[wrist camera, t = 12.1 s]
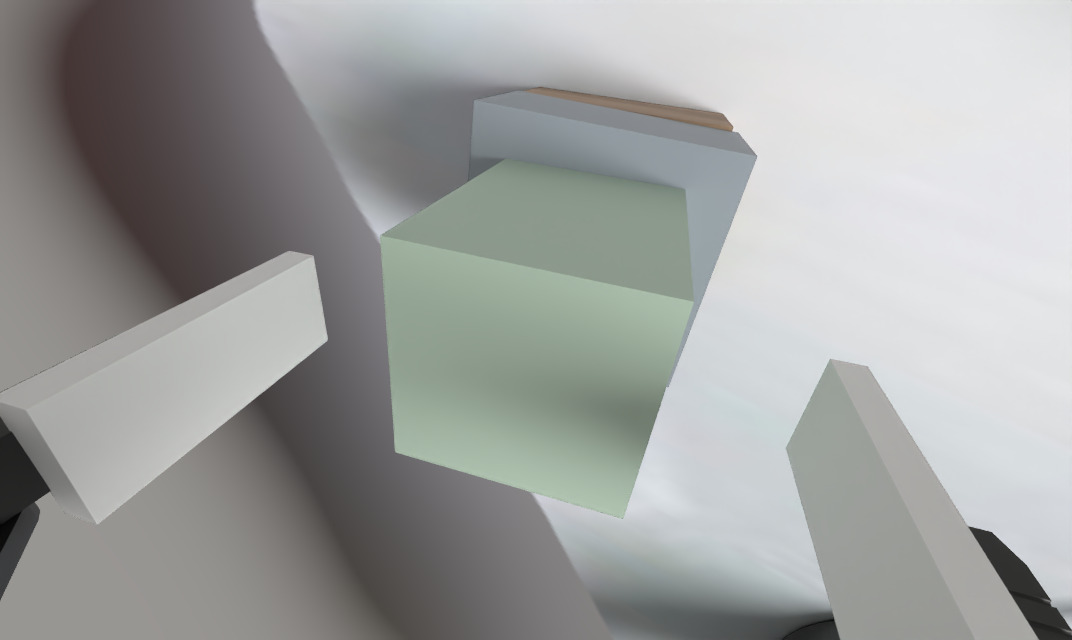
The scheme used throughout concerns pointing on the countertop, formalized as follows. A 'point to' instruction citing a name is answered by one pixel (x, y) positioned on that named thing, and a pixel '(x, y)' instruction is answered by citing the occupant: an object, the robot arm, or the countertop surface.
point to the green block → (537, 328)
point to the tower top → (624, 160)
